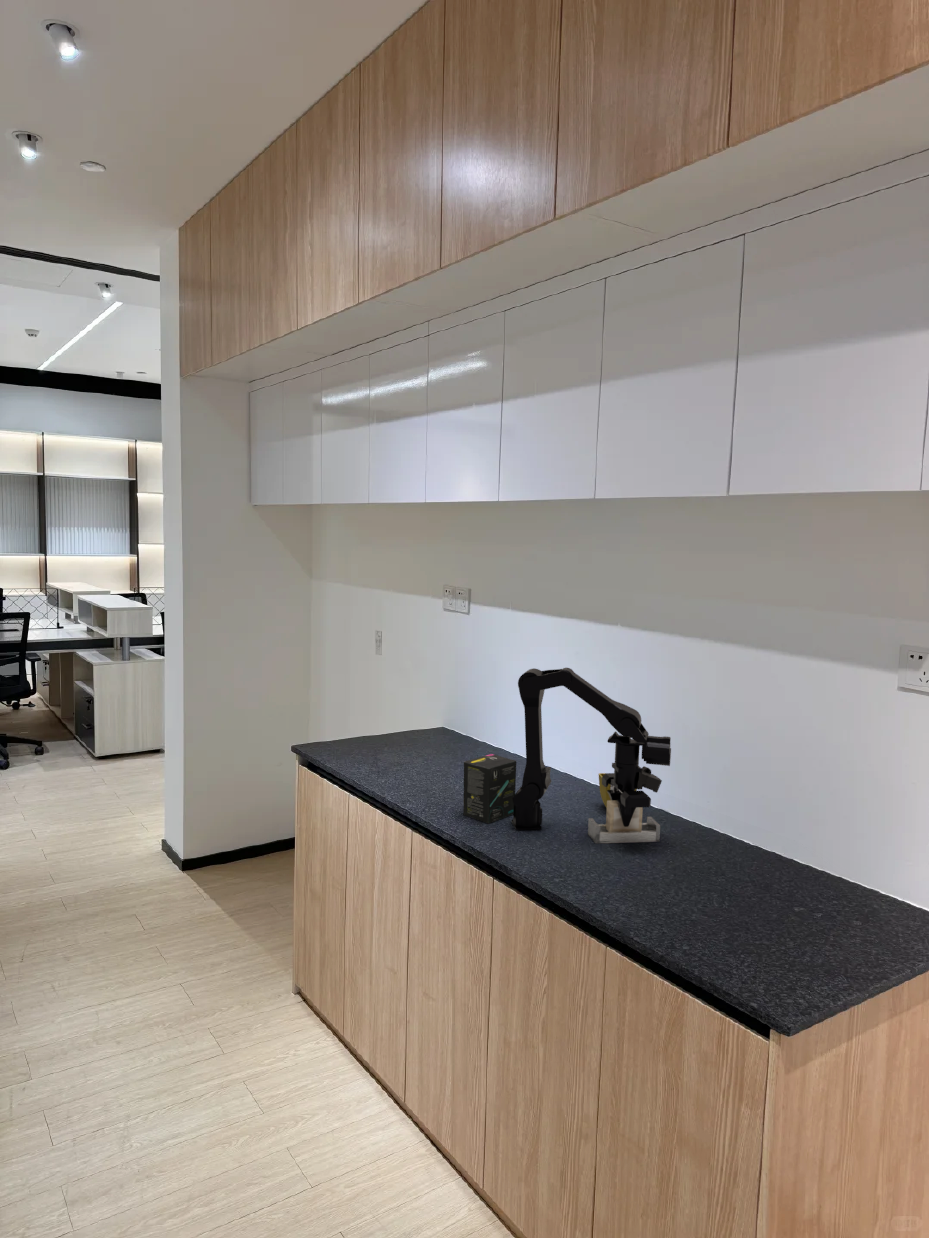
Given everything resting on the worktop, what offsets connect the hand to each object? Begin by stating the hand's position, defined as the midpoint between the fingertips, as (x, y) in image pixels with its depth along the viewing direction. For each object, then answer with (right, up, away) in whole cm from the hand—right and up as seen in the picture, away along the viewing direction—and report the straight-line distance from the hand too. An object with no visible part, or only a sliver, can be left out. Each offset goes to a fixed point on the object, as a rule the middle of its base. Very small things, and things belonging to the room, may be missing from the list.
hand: (623, 823), depth 202 cm
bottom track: (0, -3, 0) cm, 4 cm away
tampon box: (-32, -1, +15) cm, 36 cm away
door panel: (0, -2, 0) cm, 2 cm away
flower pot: (+2, -2, +21) cm, 21 cm away
